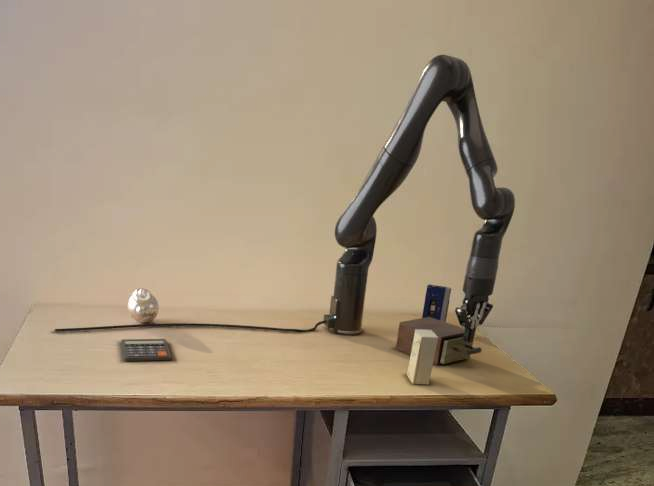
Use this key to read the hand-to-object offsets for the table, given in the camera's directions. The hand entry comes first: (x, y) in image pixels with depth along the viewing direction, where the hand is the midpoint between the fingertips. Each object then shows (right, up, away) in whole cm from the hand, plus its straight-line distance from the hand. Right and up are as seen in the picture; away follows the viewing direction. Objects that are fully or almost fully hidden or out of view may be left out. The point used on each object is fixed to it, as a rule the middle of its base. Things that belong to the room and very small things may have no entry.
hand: (467, 341), depth 184 cm
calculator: (-85, -3, -2) cm, 85 cm away
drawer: (-5, -2, +7) cm, 9 cm away
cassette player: (-1, +14, +37) cm, 40 cm away
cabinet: (-7, -1, +11) cm, 13 cm away
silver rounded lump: (-89, +10, +20) cm, 92 cm away
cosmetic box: (-15, -12, -8) cm, 21 cm away
